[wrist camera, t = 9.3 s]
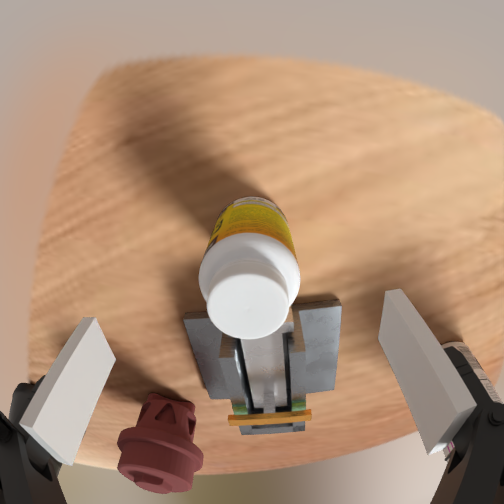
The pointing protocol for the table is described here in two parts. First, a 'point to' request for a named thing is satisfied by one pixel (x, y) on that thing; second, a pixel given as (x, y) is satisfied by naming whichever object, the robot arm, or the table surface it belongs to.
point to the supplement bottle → (249, 269)
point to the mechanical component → (161, 447)
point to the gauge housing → (295, 360)
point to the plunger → (268, 379)
